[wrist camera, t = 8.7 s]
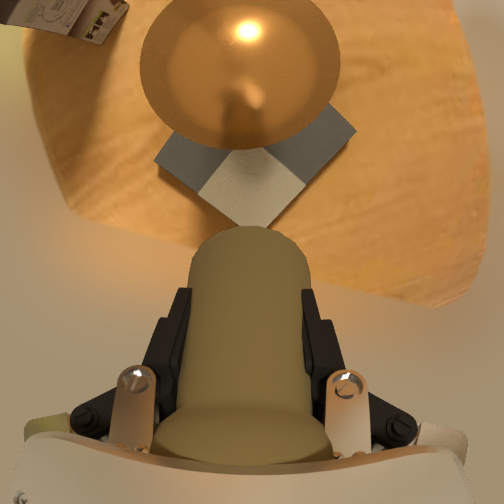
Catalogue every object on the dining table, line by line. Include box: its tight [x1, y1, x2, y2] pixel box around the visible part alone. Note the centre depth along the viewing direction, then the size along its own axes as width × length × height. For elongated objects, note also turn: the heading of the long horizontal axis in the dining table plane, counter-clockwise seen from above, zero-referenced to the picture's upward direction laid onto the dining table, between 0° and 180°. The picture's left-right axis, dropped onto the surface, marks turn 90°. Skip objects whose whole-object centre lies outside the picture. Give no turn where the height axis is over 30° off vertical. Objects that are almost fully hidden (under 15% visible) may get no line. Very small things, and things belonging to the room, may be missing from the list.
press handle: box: [140, 0, 340, 150], centre depth 13 cm, size 7×7×13 cm
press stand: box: [154, 103, 357, 228], centre depth 21 cm, size 14×16×14 cm
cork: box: [149, 226, 336, 466], centre depth 9 cm, size 6×6×11 cm
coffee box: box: [0, 0, 129, 45], centre depth 11 cm, size 9×6×16 cm
